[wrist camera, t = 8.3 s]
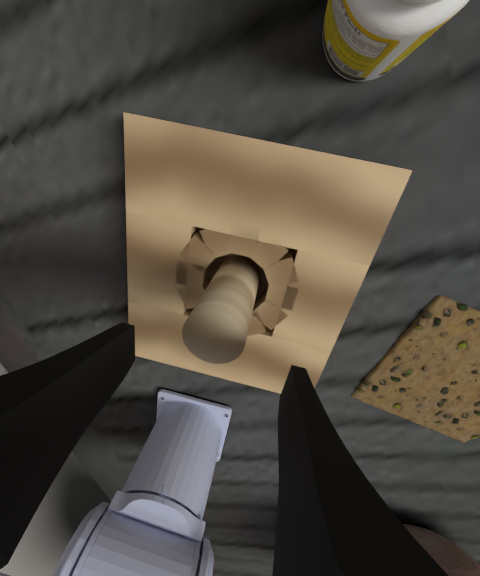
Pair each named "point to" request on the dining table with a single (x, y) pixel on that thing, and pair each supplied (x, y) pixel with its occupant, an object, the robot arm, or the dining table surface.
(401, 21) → the supplement bottle
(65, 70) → the dining table surface
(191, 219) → the bore board
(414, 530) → the ceramic pitcher
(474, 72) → the dining table surface
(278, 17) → the dining table surface
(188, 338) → the dowel
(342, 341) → the dining table surface
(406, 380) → the cookie
